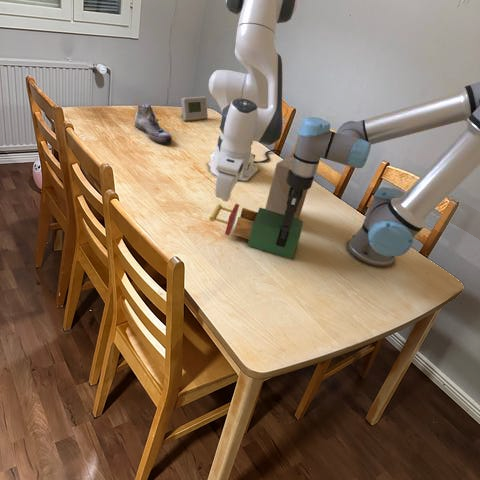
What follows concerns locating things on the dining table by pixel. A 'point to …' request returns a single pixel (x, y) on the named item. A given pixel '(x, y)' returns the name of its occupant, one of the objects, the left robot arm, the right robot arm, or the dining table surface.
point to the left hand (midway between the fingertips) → (225, 199)
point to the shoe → (151, 124)
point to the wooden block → (282, 190)
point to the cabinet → (274, 233)
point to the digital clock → (194, 108)
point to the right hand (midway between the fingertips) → (282, 236)
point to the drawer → (243, 221)
